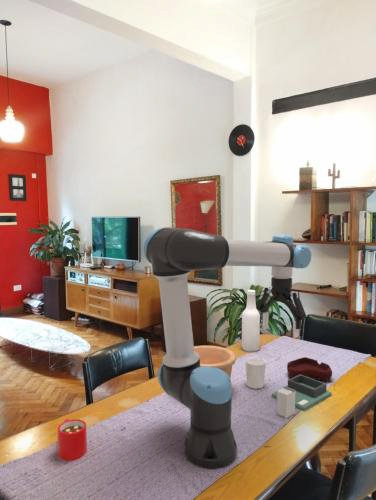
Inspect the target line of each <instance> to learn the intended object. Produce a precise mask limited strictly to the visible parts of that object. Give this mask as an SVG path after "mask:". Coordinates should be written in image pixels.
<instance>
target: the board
mask: <svg viewBox="0 0 376 500" xmlns="http://www.w3.org/2000/svg"><path fill="white" fill-rule="evenodd" d="M287 387H289V388H292V389H294V390H295V391H296V393H295V409H296V408H297V409H299V410H301V411H303V412H306V411H307V410H309V409H311V408H312V407H314V406H316V405H318V404H319V403H321V402H323V401H324V400H326V399H328V398H330V397H331V396H332V395H333V393H332V392H331V391H329V390H327V383H325V382H324V381H321V380H318V379H312V378H309V377H306V376H303V375H301V374H299V375H297V376H295V377H293V378H289V379H287ZM277 391H278V390H276V391H274V392H273V393H271V397H272V398H274V399H276V400H277Z"/></svg>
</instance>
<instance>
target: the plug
mask: <svg viewBox="0 0 376 500" xmlns="http://www.w3.org/2000/svg"><path fill="white" fill-rule="evenodd" d="M287 386H288V385H287ZM287 386H283V387H282V388H280V389H278V390H276V391H277V399H276V414H277V415H280V416H282V417H283V418H286V419H287V418H288V417H291V416H292V415H294V414H295V413H296V407H295V393H296V391H295V390H294V389H292V388H289V387H287Z"/></svg>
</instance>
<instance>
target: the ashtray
mask: <svg viewBox="0 0 376 500" xmlns="http://www.w3.org/2000/svg"><path fill="white" fill-rule="evenodd" d="M286 370H287V373H288V375H289V376H290V377H291V378H293V377H295V376H297V375H299V374H301V375H303V376H306V377H309V378H312V379H314V380H319V379H320V380H319V381H320V382H327V381H328V380H331V378H332V377H333V371H332V368H331V366H330V364H328V363H325V362H320V363H319V362H318V360H316V359H313V358H310V357H305V356H304V357H300V358H296V359H293V360H291V361H288V362H287V365H286ZM291 378H290V379H291Z"/></svg>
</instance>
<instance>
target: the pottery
mask: <svg viewBox="0 0 376 500" xmlns="http://www.w3.org/2000/svg"><path fill="white" fill-rule="evenodd" d="M194 351H195V352H197V353H198V354H199V356H200V366H201V367H204V366H208V367H212V368H218V369H220V370H222V371H224V372H225V373H226V374H227V375H228V376H229V377H230V379H231V377H232V371H233V366H234V365H235V363H236V361H237V355H236V354H235V352H234V351H232V350H230V349H228V348H226V347H223V346H218V345H217V346H216V345H194Z"/></svg>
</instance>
